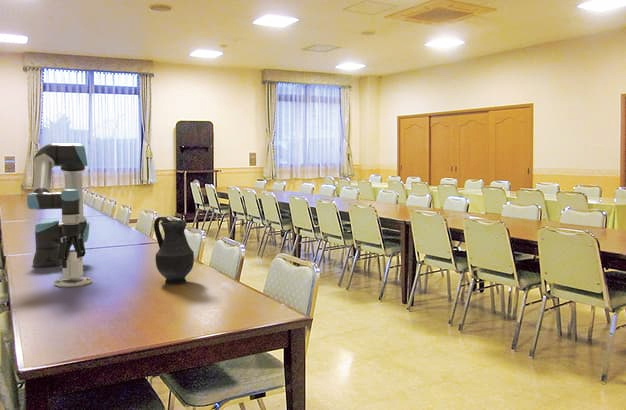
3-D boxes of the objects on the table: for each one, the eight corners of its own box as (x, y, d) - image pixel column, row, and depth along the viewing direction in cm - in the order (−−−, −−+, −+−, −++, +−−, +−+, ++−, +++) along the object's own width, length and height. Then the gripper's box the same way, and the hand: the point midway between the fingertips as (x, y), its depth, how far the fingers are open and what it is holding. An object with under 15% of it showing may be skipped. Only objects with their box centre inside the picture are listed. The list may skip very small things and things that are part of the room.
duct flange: (46, 286, 259) (45, 282, 259) (69, 278, 275) (69, 275, 275) (76, 288, 255) (76, 284, 255) (99, 280, 271) (99, 277, 271)
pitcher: (175, 288, 256) (173, 220, 253) (142, 282, 267) (140, 217, 264) (202, 281, 271) (201, 217, 268) (170, 275, 282) (168, 214, 279)
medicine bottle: (67, 275, 268) (66, 249, 267) (83, 275, 269) (82, 249, 268) (62, 278, 261) (61, 252, 260) (78, 278, 262) (77, 252, 260)
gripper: (62, 226, 251) (64, 278, 253) (92, 221, 272) (94, 268, 274) (47, 226, 253) (49, 277, 255) (79, 220, 274) (80, 267, 276)
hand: (72, 272), depth 265 cm, fingers closed on medicine bottle, 9 cm apart
